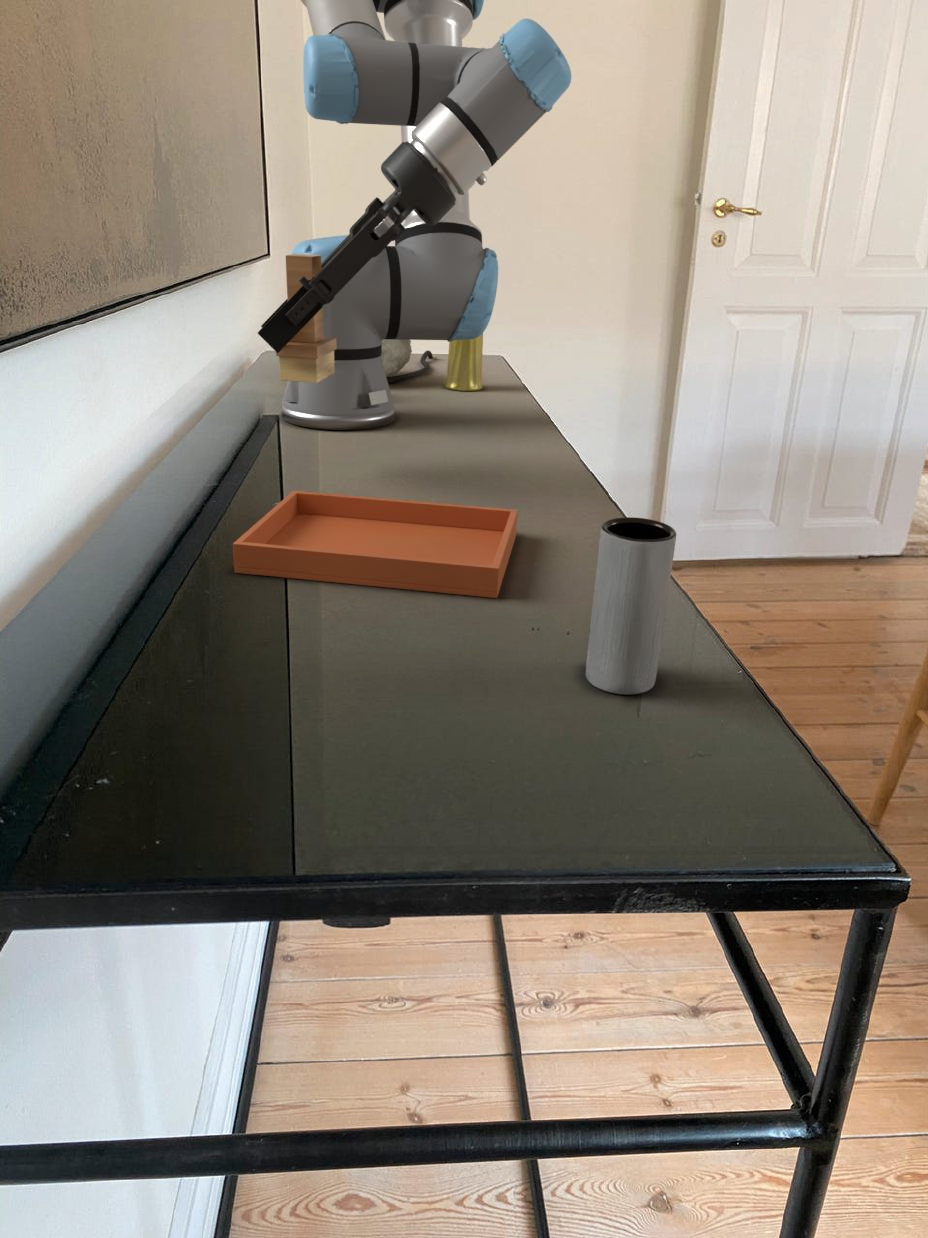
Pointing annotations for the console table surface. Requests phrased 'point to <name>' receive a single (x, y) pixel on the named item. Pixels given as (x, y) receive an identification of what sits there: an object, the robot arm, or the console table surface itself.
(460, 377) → the vase
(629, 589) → the planter
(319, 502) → the tray
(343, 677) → the console table surface
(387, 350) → the decorative shell
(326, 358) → the wooden block on base
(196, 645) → the console table surface
